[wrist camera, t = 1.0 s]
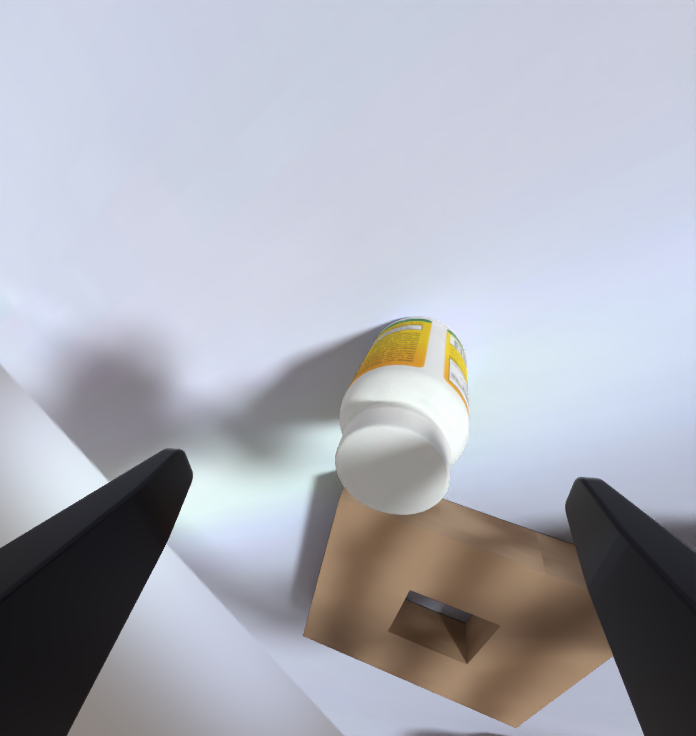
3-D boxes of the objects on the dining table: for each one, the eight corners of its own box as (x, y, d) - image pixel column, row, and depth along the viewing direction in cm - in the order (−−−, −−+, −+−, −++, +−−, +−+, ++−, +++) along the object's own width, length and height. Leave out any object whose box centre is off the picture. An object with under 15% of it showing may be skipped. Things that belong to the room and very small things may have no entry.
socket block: (640, 568, 22) (664, 617, 20) (510, 685, 32) (515, 728, 30) (351, 466, 25) (339, 498, 23) (313, 603, 35) (302, 635, 33)
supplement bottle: (485, 341, 18) (511, 463, 10) (434, 411, 21) (422, 551, 13) (396, 296, 19) (351, 380, 10) (357, 371, 21) (297, 483, 13)
